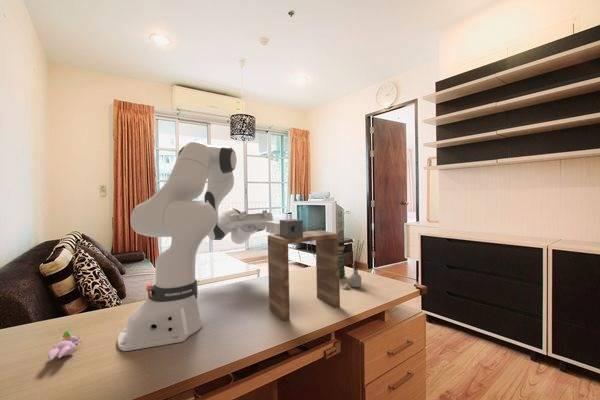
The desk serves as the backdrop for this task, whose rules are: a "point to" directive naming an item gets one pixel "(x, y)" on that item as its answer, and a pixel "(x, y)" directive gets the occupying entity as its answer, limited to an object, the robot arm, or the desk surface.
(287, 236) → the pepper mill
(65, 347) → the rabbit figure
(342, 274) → the coffee jar
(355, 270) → the reed diffuser
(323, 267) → the shelf
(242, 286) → the desk surface
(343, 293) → the desk surface
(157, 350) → the desk surface
